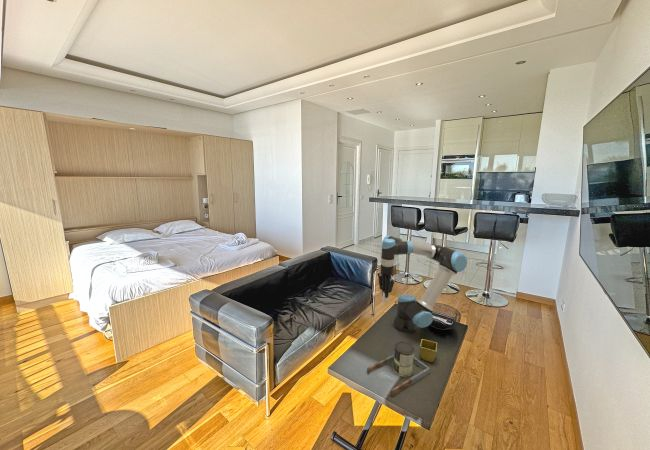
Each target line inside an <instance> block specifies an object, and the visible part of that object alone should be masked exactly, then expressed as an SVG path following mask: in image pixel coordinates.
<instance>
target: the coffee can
mask: <svg viewBox="0 0 650 450" xmlns="http://www.w3.org/2000/svg"><path fill="white" fill-rule="evenodd" d="M393 353H394V354H393V355H394V361H393V365H392V366H393V367H392V370H393V372H394V373H395V374H396V375H398V376H400V377H403V378H405V377H406V378H408V377H410V376H412V374H413V365H414V363H413V358H414V357H415V356H414V355H415V347H414V346H413V344H411V343H409V342H407V341H403V340H401V341H397V342H395V343H394V352H393Z"/></svg>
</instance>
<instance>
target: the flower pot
mask: <svg viewBox="0 0 650 450" xmlns="http://www.w3.org/2000/svg"><path fill="white" fill-rule="evenodd" d="M420 340H421V341H420V345H419V353H420V357H421V359H422V360H424V361H427V362H430V363H432V362H434V361H435V359H436V355H437V351H438V350H437V346H438V342H436V341H433V340H428V339H424V338H422V339H420Z"/></svg>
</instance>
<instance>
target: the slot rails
mask: <svg viewBox="0 0 650 450" xmlns="http://www.w3.org/2000/svg"><path fill="white" fill-rule="evenodd" d="M387 365H388V364H387V359H386V358H384V359H382V360H380V361H378V362H376V363H374V364H372V365H370V366H368V367H367V369H366V374H367V375H369V374H371V373H373V372H374V370H375V371H376V369H377V370H379V369H380V367H381V368H382V367H384V366H387ZM378 368H379V369H378ZM372 371H373V372H372ZM370 372H371V373H370ZM411 381H412V380H411V379H410V378H409V379H406V380H405V381H404V382H402V383H400V384H398V385H397V386H395V387H394V388H392V389H391V390H390V395H391V396H393V397H395V395H397V394H399V393H400V392H402V391H403V390H405V389H408V388H409V387H410V386H411Z"/></svg>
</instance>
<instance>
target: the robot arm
mask: <svg viewBox="0 0 650 450" xmlns="http://www.w3.org/2000/svg"><path fill="white" fill-rule="evenodd" d="M380 251H381V252H380V253H381V254H380V256H381V257H380V268H379V269H380V272H377V277H378V286H379V287H378V288H379V290H381V296H382V300H381V302H382V303H387V302H388V298H389V294H390V293H392V292H393V287H394V285H395V282H396V280H397V279H396V278H394V277H393V272H394V265H395V264H394V263H395V256H399V255H401V256H402V255H409V254H414V255H418V256H419V255H420V256H424V257H426V258H427V259H430V260H433V261H434V262H435V261H436V262H437V263H438V267H439V268H438V270H437V271H436V273H435V274H434V276H433V278H432V279H431V281H430V282H429V284H428V286H427V287H426V289H425V291H424V293H423V294H422V296H421V297H420V299H417V298H416V296H414V295H412V294H405V293H404V294H401V295H399V296H398V298H397V306H396V307H397V308H396V316H395V318H394V320H393V327H394V328H395V329H396V330H397V331H399V332H402V333H406V334H408V333H409V334H411V333H414V332H415V331H416V330H417V327H418V328H422V329H423V328H426V327H429V326H430V325H431V324H432V323H433V320H434V316H433V312H434V309H433V307H434V306H435V304H436V303H437V301H438V300H439V298H440V296H441V294H442V293H443V292H444V290H445V288H446V287H447V285H448V283H449V282H450V280H451V278H452V277H453V276H456V275H457V274H458V273H461V272H463V271H465V269H466V268H467V263H468V261H467V260H468V259H467V257H466V255H465V254H464V253H462V252H460V251H458V250H455V249H452V248H450V247H447V246H443V245H442V246H441V245H436V244H425V243H420V242H415V241H411V240H407V239H404V238H399V237H395V236H393V235H385V236H384V237H383V239H382V242H381V250H380Z"/></svg>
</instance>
